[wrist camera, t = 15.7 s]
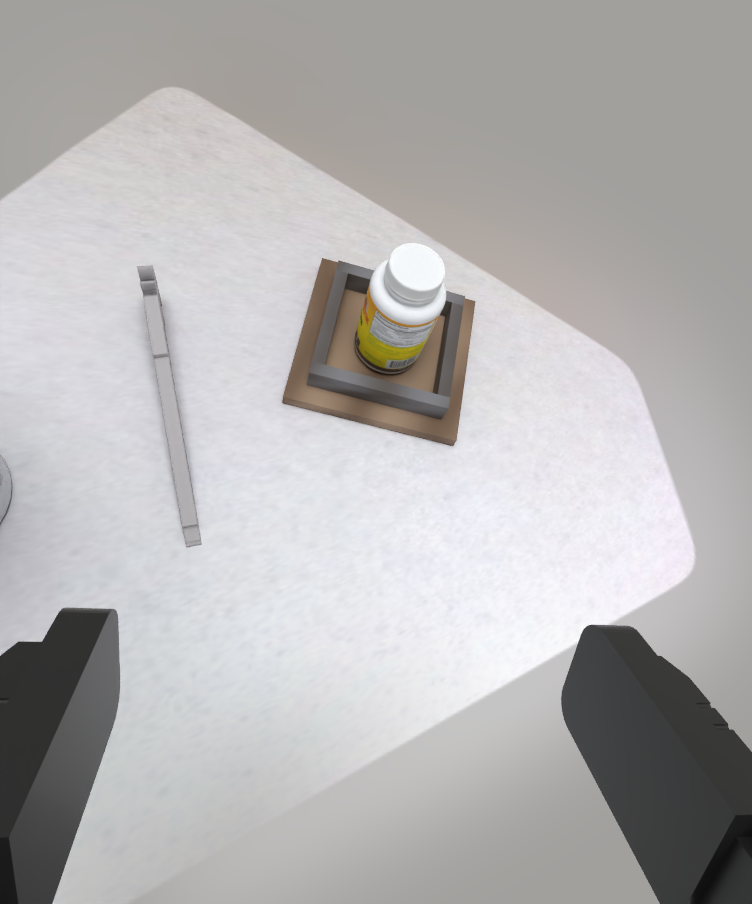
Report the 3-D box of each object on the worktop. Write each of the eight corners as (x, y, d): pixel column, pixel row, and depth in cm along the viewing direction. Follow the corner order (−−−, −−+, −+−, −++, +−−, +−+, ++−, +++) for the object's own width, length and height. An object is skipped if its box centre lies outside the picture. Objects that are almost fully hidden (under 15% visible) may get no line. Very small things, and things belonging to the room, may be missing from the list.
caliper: (147, 303, 46) (132, 250, 41) (162, 302, 47) (149, 249, 41) (186, 548, 40) (175, 525, 34) (203, 545, 40) (194, 521, 35)
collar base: (282, 402, 45) (284, 384, 42) (321, 265, 51) (324, 241, 48) (452, 445, 47) (464, 430, 44) (471, 308, 52) (483, 287, 50)
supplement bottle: (374, 307, 49) (403, 219, 40) (429, 343, 49) (471, 262, 40) (339, 352, 47) (361, 268, 37) (396, 389, 46) (433, 315, 37)
